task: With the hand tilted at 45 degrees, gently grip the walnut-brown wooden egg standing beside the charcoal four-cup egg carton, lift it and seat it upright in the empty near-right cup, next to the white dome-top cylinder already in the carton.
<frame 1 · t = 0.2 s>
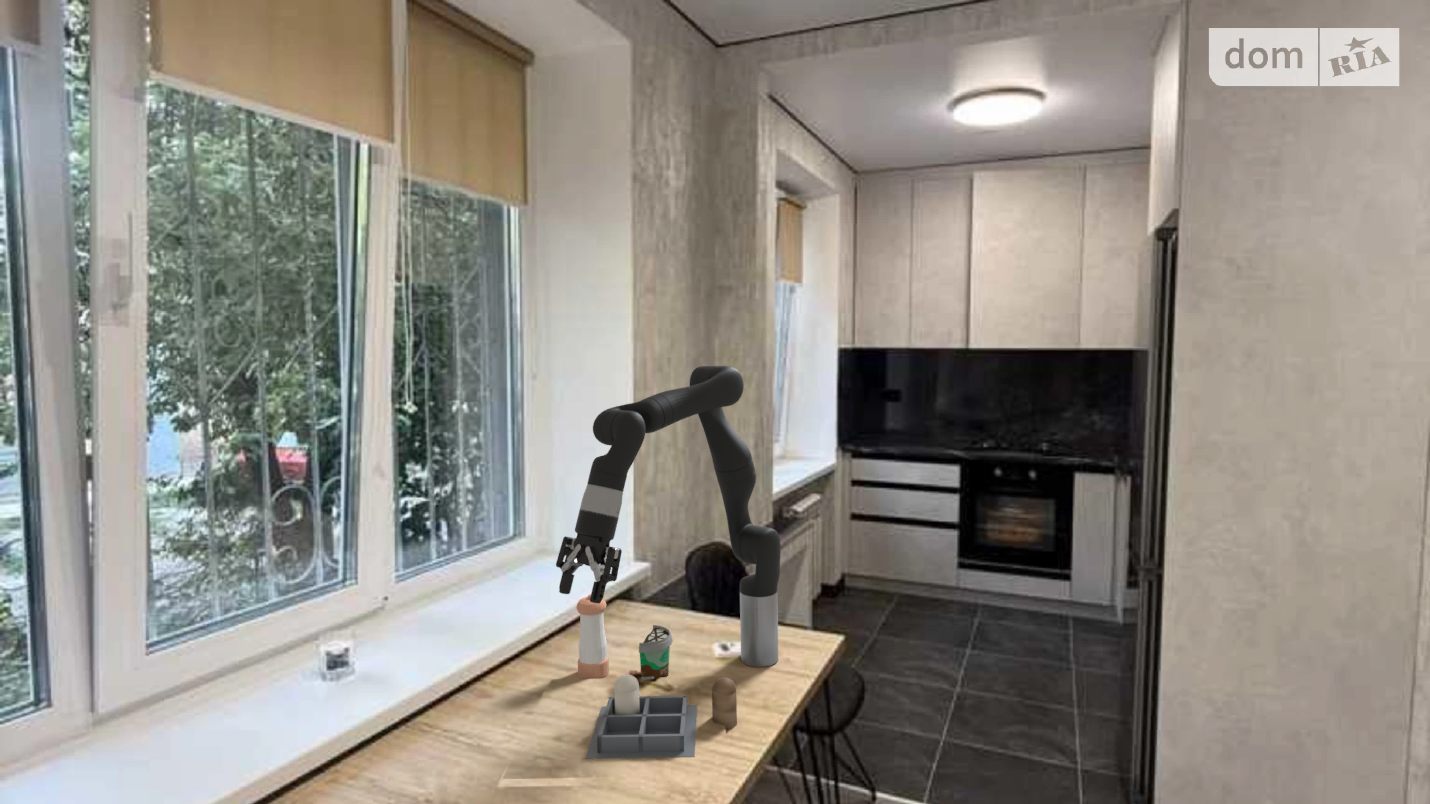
hand: (579, 598, 139), 31 cm above the table, tool tilted 20°, fingers open, 8 cm apart
white dome-top cylinder: (627, 720, 153), point 1 cm above the table, touching egg carton
brown egg: (724, 723, 154), on the table
food container: (660, 676, 177), on the table
pepper shaker: (593, 674, 179), on the table
egg carton: (645, 734, 150), on the table
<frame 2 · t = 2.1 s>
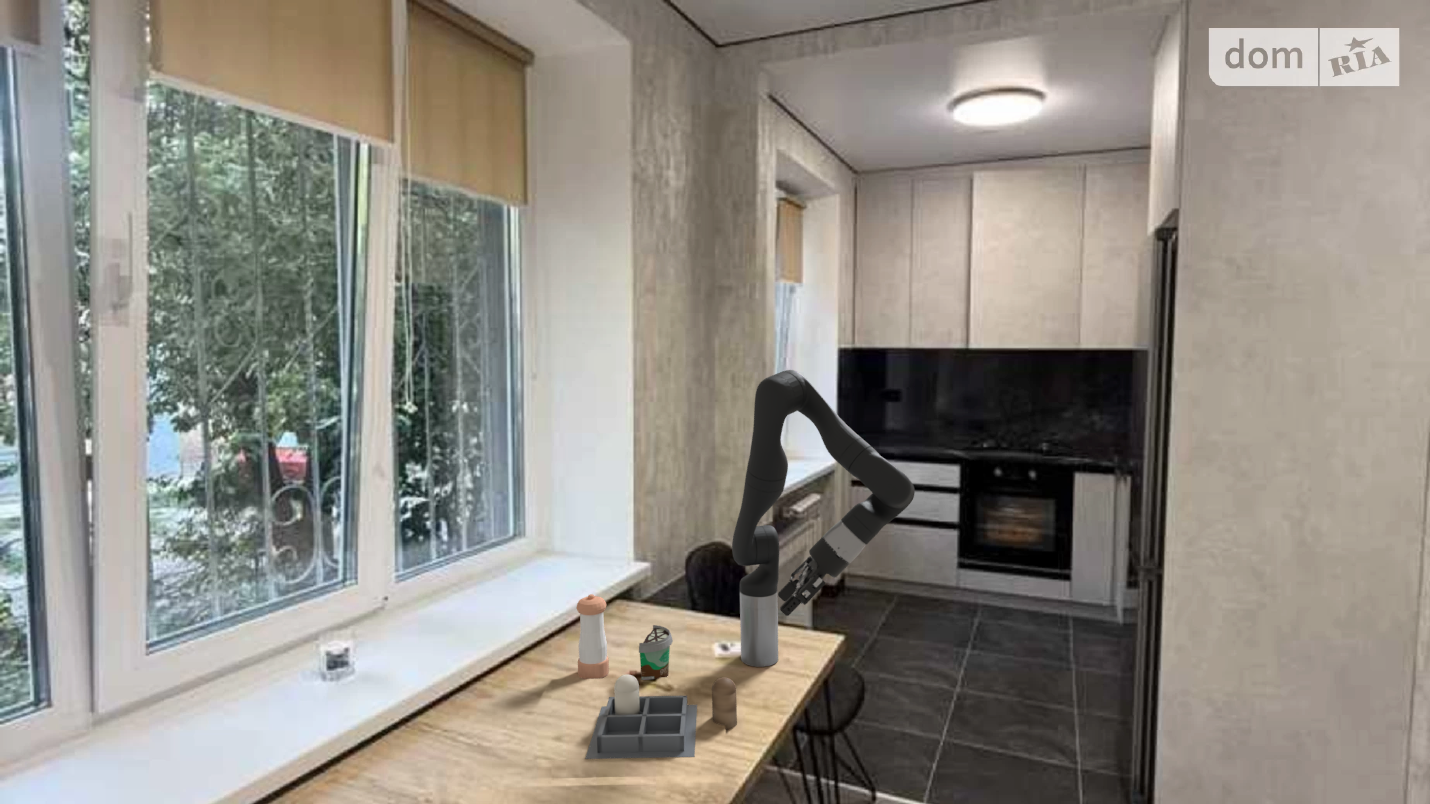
hand: (782, 605, 152), 25 cm above the table, tool tilted 45°, fingers open, 8 cm apart
nothing on the table moved.
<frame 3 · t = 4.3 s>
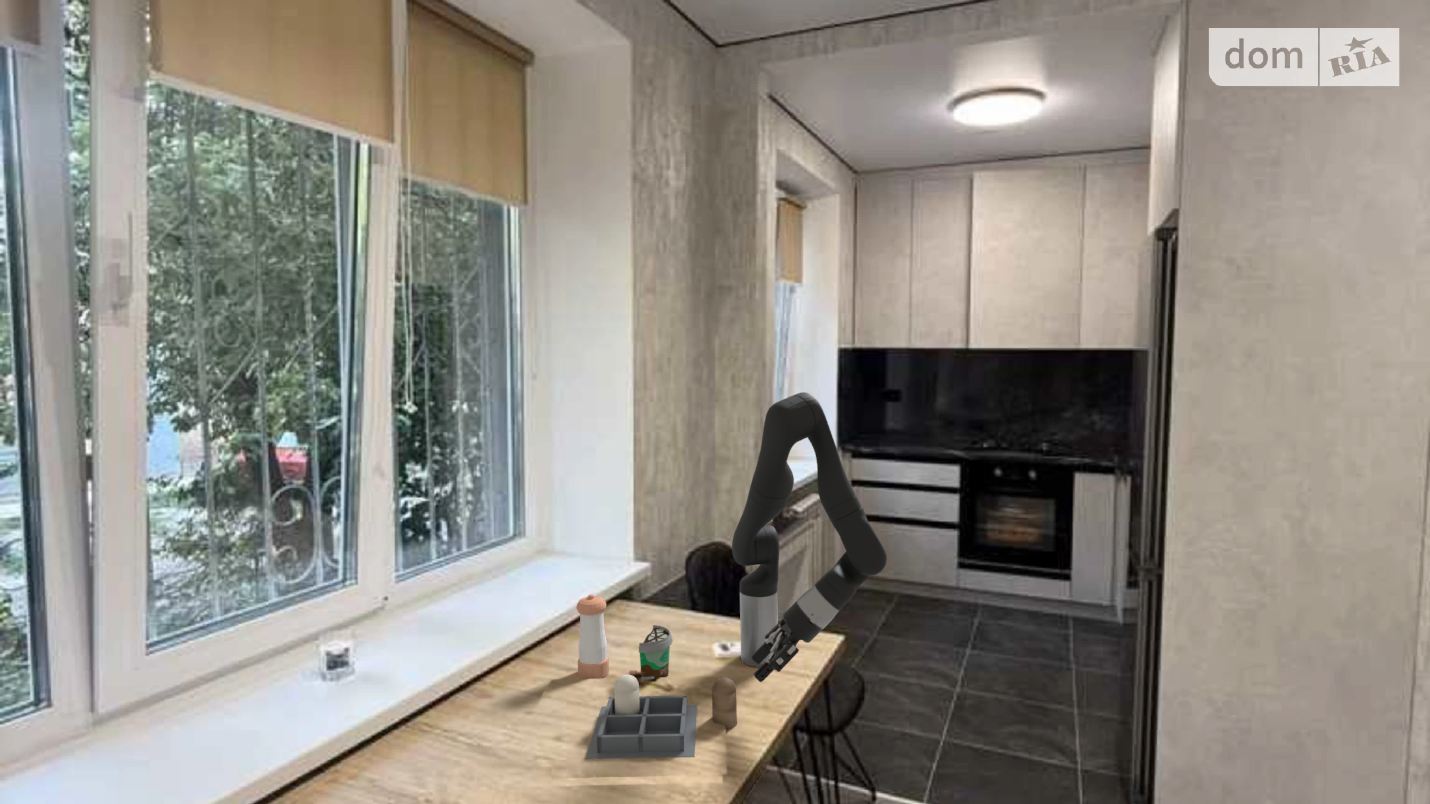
hand: (755, 669, 153), 11 cm above the table, tool tilted 45°, fingers open, 8 cm apart
nothing on the table moved.
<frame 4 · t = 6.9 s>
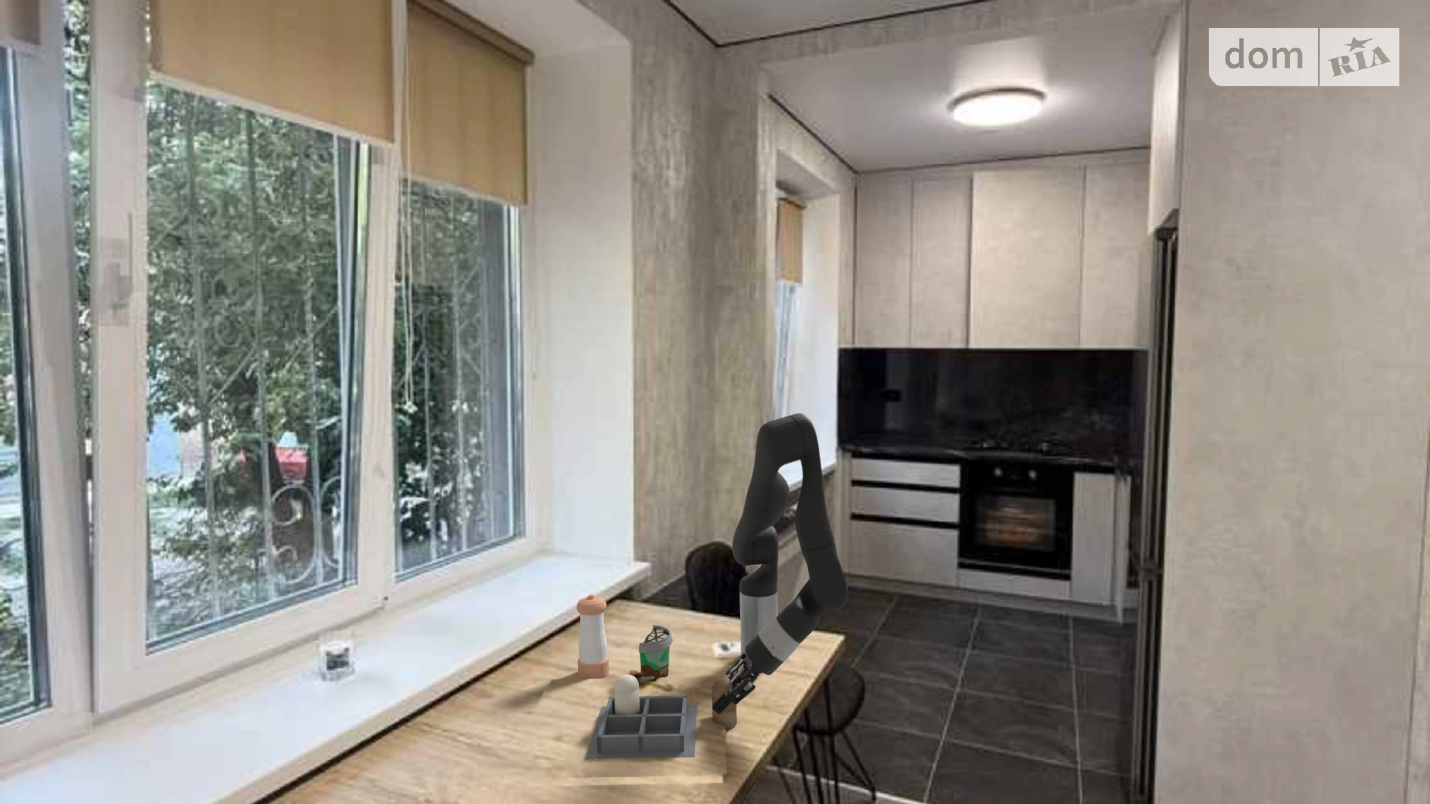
hand: (715, 703, 153), 4 cm above the table, tool tilted 45°, fingers closed on brown egg, 5 cm apart
brown egg: (724, 723, 154), on the table, touching gripper
everything else where it was.
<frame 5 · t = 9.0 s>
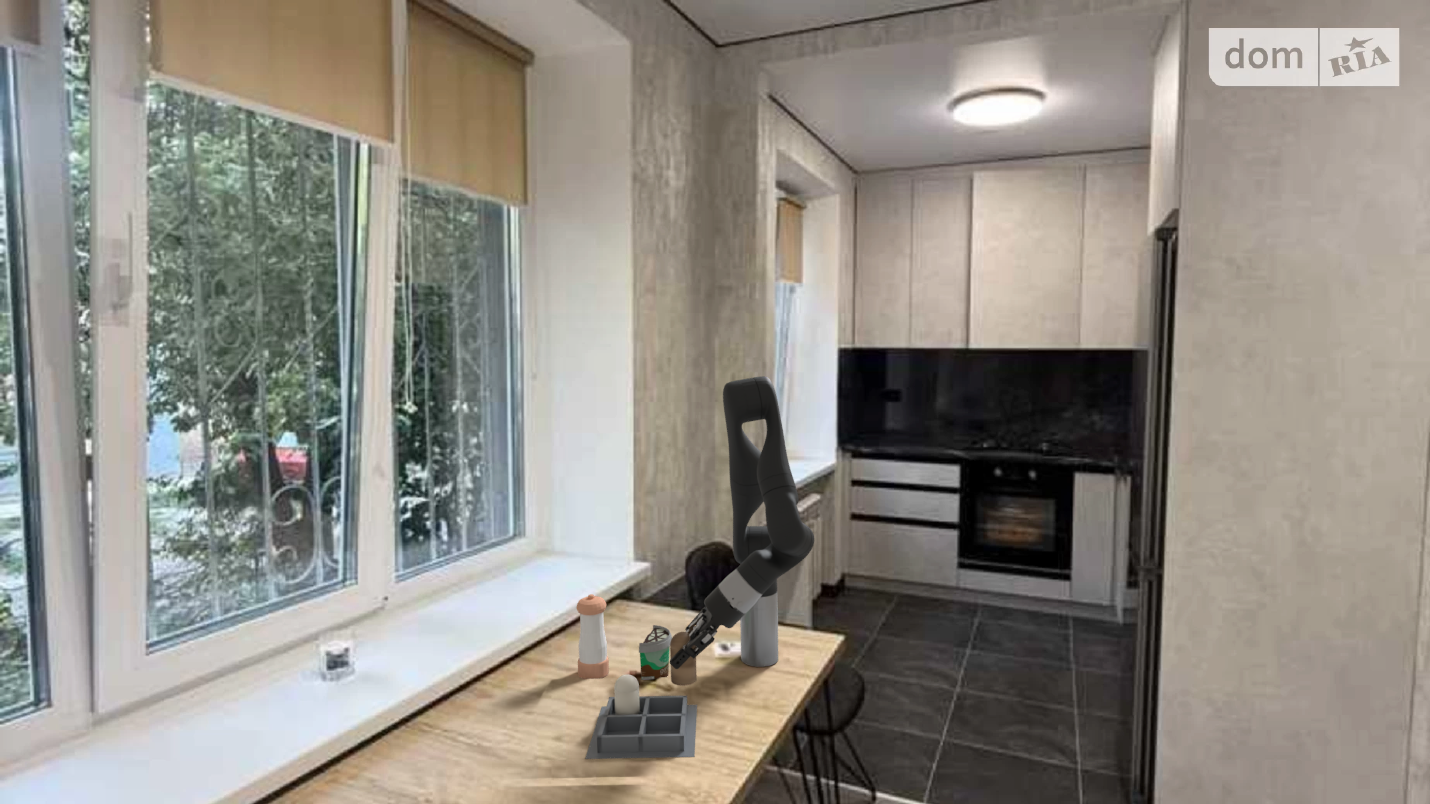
hand: (673, 659, 146), 16 cm above the table, tool tilted 45°, fingers closed on brown egg, 5 cm apart
brown egg: (683, 679, 147), point 12 cm above the table, touching gripper
everything else where it was.
when the fingers open (7 cm above the table, at t = 11.6 s): brown egg drops 1 cm, resting on egg carton.
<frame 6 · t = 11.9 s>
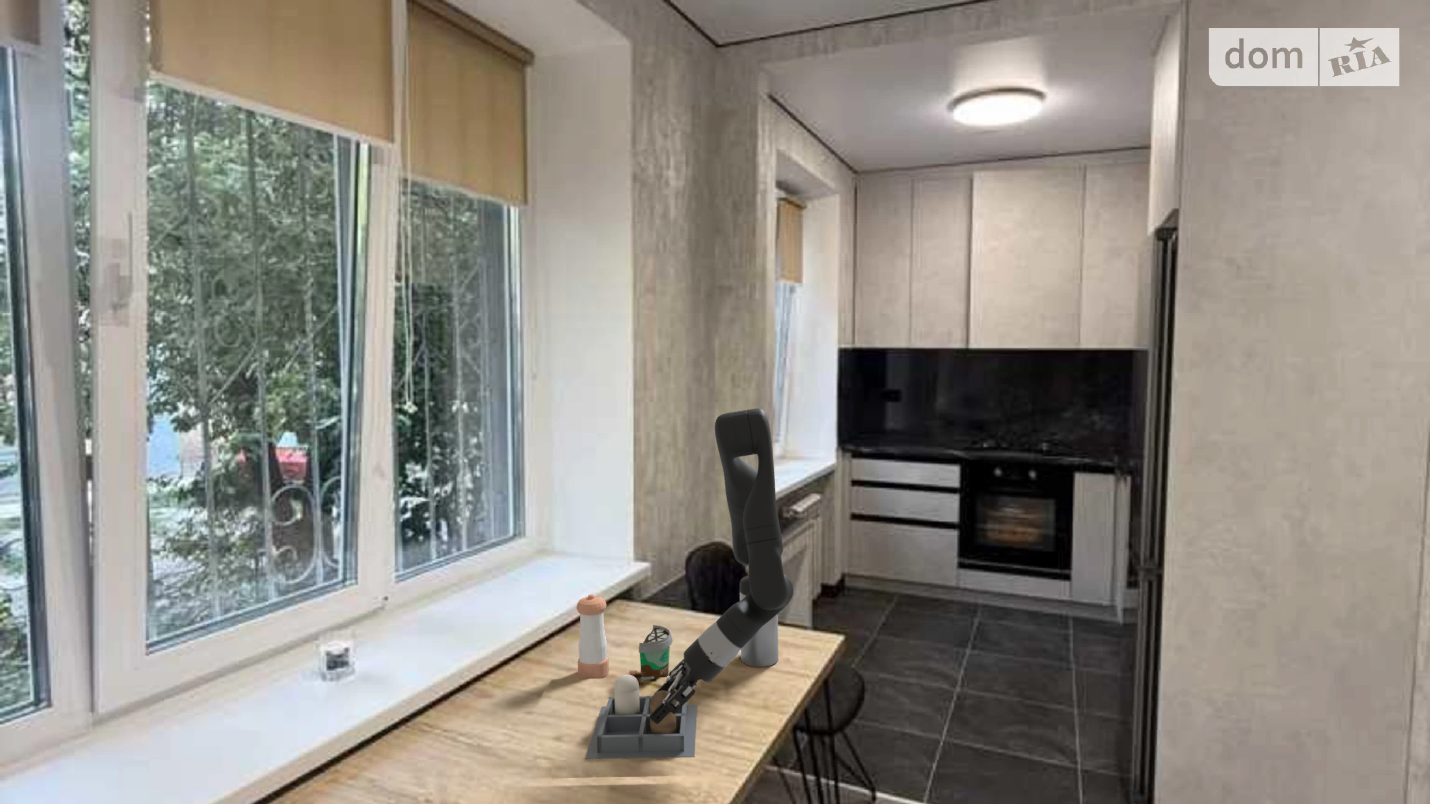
hand: (655, 709, 145), 7 cm above the table, tool tilted 45°, fingers open, 8 cm apart
brown egg: (663, 739, 146), point 1 cm above the table, touching egg carton
everything else where it was.
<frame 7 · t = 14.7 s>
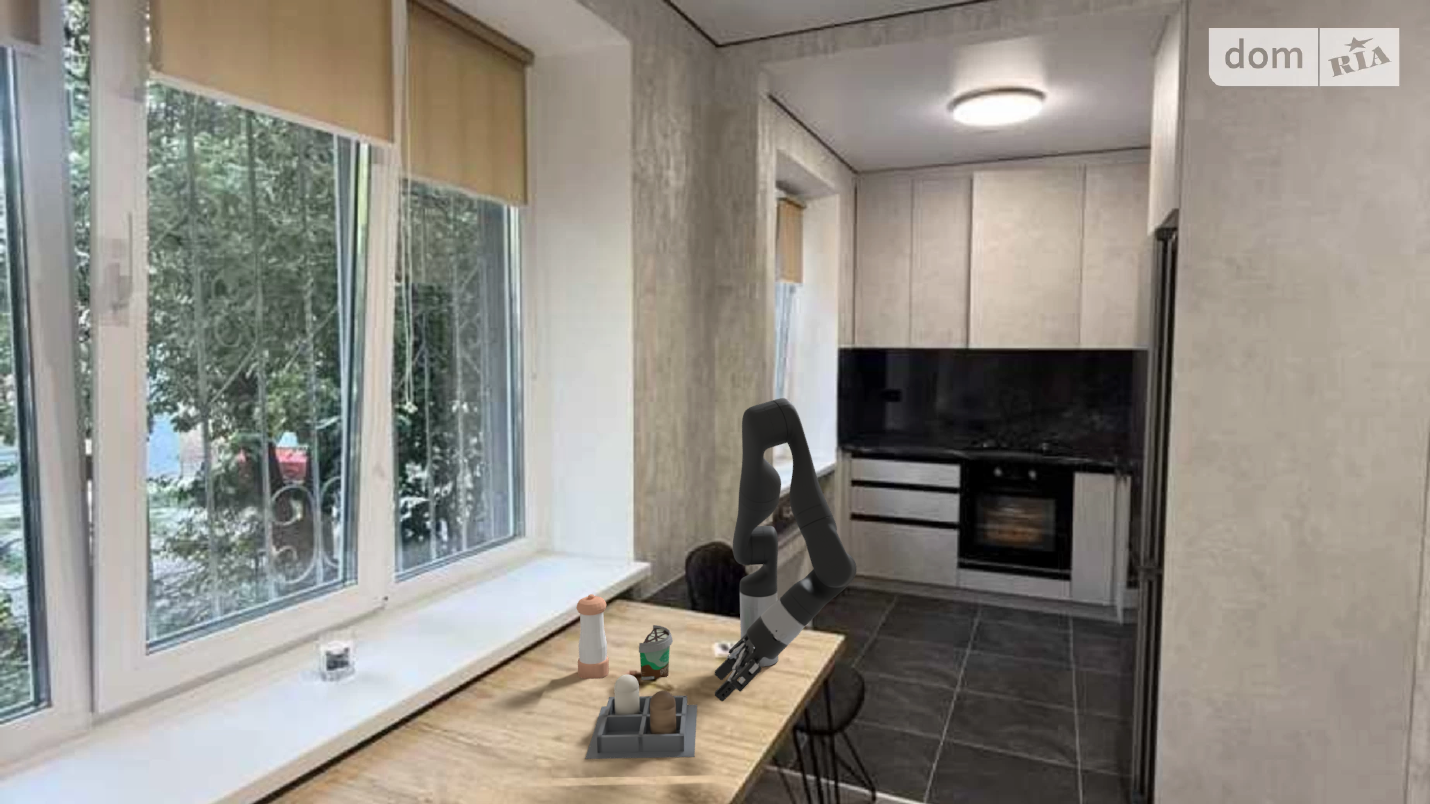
hand: (717, 686, 145), 11 cm above the table, tool tilted 45°, fingers open, 8 cm apart
nothing on the table moved.
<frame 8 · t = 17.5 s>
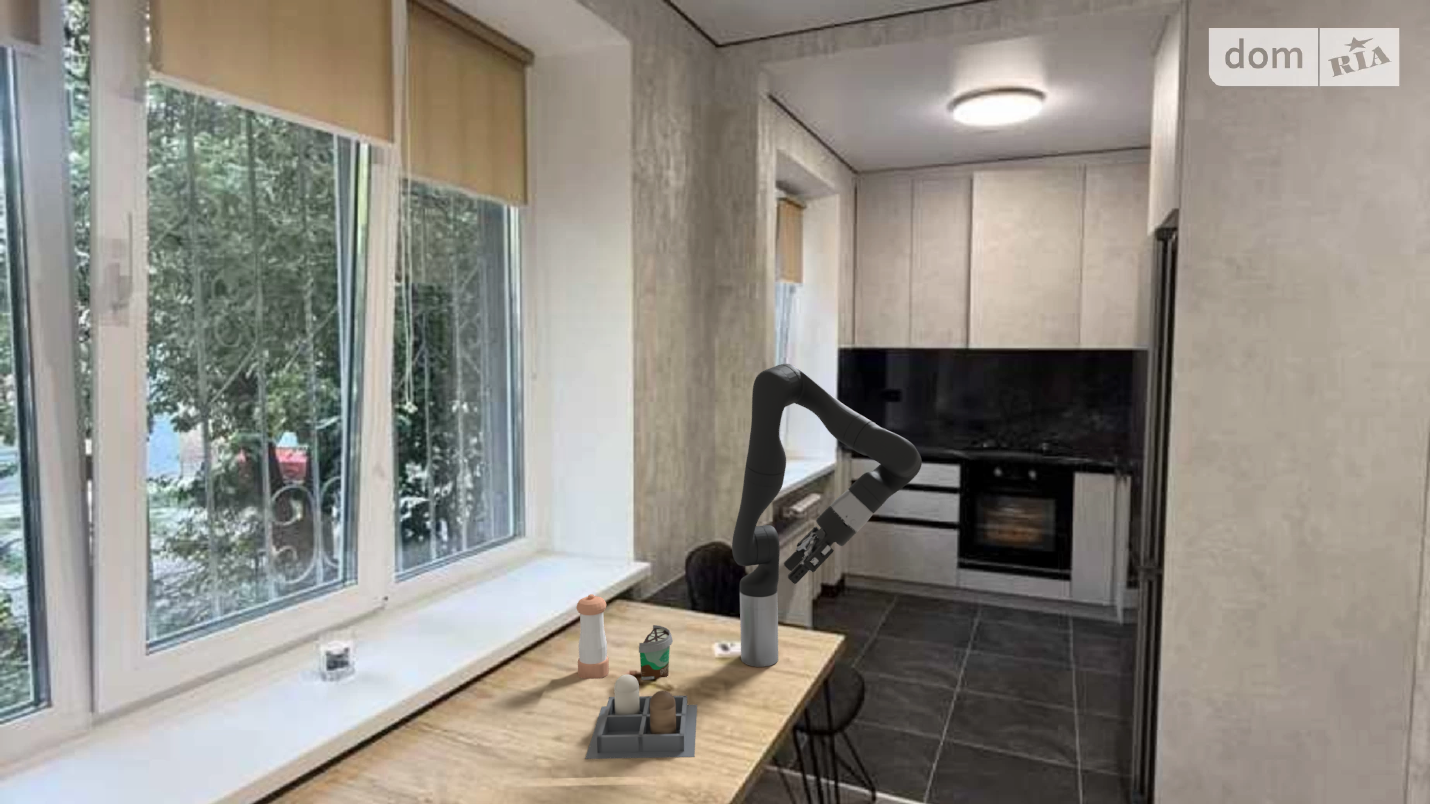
hand: (788, 574, 152), 31 cm above the table, tool tilted 45°, fingers open, 8 cm apart
nothing on the table moved.
at the end: brown egg 0.2 cm from the target spot on the egg carton, point 1.0 cm above the egg carton's base; brown egg tilted 0°; the gripper is holding nothing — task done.
